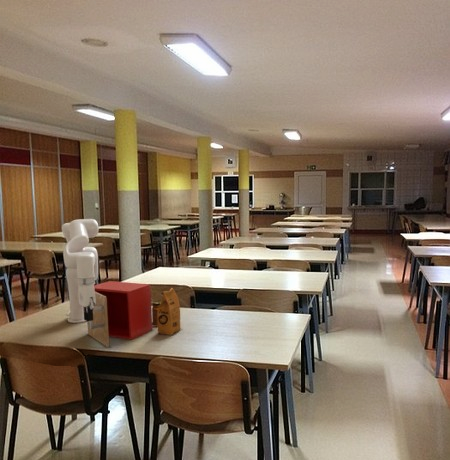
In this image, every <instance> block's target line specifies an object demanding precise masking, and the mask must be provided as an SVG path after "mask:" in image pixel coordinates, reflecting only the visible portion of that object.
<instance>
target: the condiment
mask: <svg viewBox="0 0 450 460" xmlns="http://www.w3.org/2000/svg"><path fill="white" fill-rule="evenodd" d="M161 302H162V301H153V302H152V306H151V309H152V328H153V327H158V319H157V311H158V307H159V305H160V303H161Z"/></svg>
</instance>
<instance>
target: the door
mask: <svg viewBox="0 0 450 460" xmlns="http://www.w3.org/2000/svg"><path fill="white" fill-rule="evenodd" d="M95 299H96V304H95V306H94V309H93V320H92V321H86V323H87V335H89V336H90V337H91V338H93V339H94V340H96V341H97V342H99V343H100V344H102V345H103V346H105V347H106V348H109V347H110V336H109V333H108V315H107V297H106V296H104V295H101V294H99V293H97V292H95ZM89 308H90V307H89Z"/></svg>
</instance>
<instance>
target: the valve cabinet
mask: <svg viewBox="0 0 450 460" xmlns="http://www.w3.org/2000/svg"><path fill="white" fill-rule="evenodd" d="M94 289H95V292H97V293H99V294H101V295H104V296H106V297H107V315H108V333H109V338H117V339H124V340H130V341H131V340H134V339H136V338H138V337H141V336H143V335H144V334H147V333H149V332H151V331H153V327H152V322H153V320H152V291H151V290H152V289H151V284H150V283H141V282H140V283H139V282H126V281H114V280H109V281H105V282H101V283H98V284H94Z"/></svg>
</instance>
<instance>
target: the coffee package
mask: <svg viewBox="0 0 450 460" xmlns="http://www.w3.org/2000/svg"><path fill="white" fill-rule="evenodd" d="M160 294H161V295H162V299H161V301H160V302H161V303H160V305H159V307H158V311H157V319H158V326H157V332H158V334H162V335H166V336H168V335H169V336H171V335H173V334H175V333H178V332H179V331H180V330H181V329H182V327H181V306H180V299H179V297H178V295H177V293H176V291H175V289H174V288H173V287H170V289H169V290H165V291H162V292H161V293H160Z"/></svg>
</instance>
